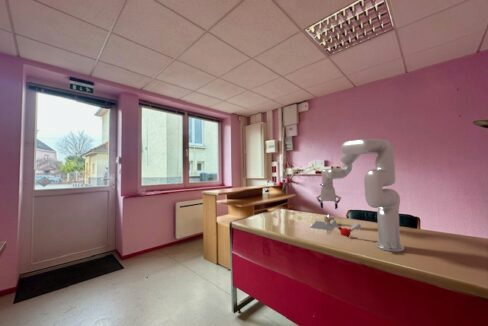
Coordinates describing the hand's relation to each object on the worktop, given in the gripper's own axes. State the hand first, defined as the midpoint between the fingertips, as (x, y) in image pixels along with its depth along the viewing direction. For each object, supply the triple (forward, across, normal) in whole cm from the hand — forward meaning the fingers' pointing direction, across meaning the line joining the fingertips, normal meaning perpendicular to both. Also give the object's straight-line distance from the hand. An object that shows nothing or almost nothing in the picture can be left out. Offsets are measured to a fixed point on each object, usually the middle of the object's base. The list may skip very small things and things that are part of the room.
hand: (329, 208), depth 151 cm
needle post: (+12, -1, 0) cm, 12 cm away
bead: (+12, -1, 0) cm, 12 cm away
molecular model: (+14, +12, -20) cm, 27 cm away
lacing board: (+13, -4, -4) cm, 14 cm away
